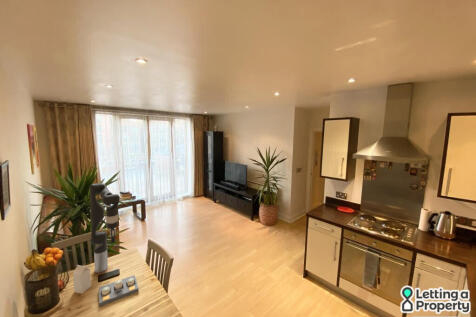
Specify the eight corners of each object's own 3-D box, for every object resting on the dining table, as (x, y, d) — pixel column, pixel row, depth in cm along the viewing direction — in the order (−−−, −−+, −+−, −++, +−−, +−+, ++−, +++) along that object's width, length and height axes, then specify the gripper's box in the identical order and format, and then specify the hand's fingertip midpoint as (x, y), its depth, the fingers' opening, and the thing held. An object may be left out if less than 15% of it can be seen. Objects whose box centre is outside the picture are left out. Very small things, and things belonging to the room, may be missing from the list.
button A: (101, 293, 142) (101, 288, 142) (109, 290, 145) (109, 285, 145) (101, 298, 138) (101, 292, 138) (110, 295, 141) (109, 289, 141)
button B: (114, 286, 147) (114, 281, 146) (122, 283, 149) (121, 278, 149) (115, 290, 143) (114, 285, 142) (122, 287, 146) (122, 282, 145)
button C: (126, 284, 152) (126, 279, 151) (133, 282, 154) (133, 277, 154) (127, 288, 148) (127, 283, 147) (134, 285, 150) (134, 280, 150)
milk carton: (81, 293, 143) (80, 269, 141) (74, 292, 145) (72, 268, 142) (91, 286, 150) (89, 263, 148) (83, 285, 151) (82, 262, 149)
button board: (99, 290, 146) (98, 286, 146) (134, 278, 160) (134, 274, 160) (99, 307, 133) (99, 302, 132) (138, 291, 147) (138, 287, 146)
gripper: (105, 218, 150) (106, 240, 152) (106, 225, 139) (107, 248, 141) (117, 216, 154) (118, 237, 156) (118, 222, 144) (119, 245, 146)
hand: (113, 242), depth 149 cm, fingers closed
